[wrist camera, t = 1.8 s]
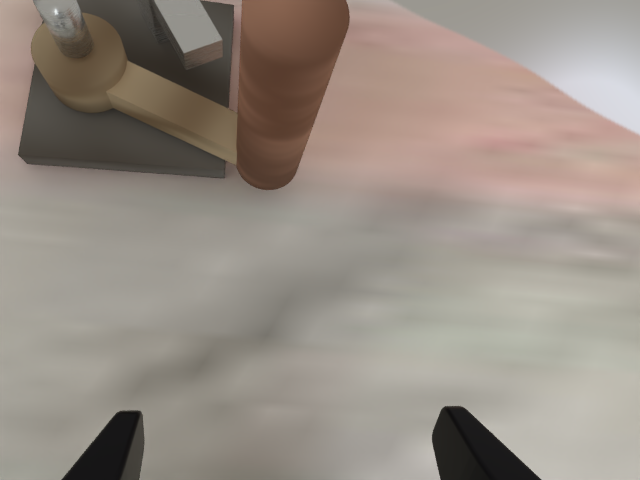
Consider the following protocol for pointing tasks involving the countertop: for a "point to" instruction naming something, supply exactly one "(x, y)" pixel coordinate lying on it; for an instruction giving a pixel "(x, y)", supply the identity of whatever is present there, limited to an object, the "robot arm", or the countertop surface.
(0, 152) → the countertop surface
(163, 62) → the base plate
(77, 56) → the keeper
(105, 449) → the robot arm
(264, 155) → the link
